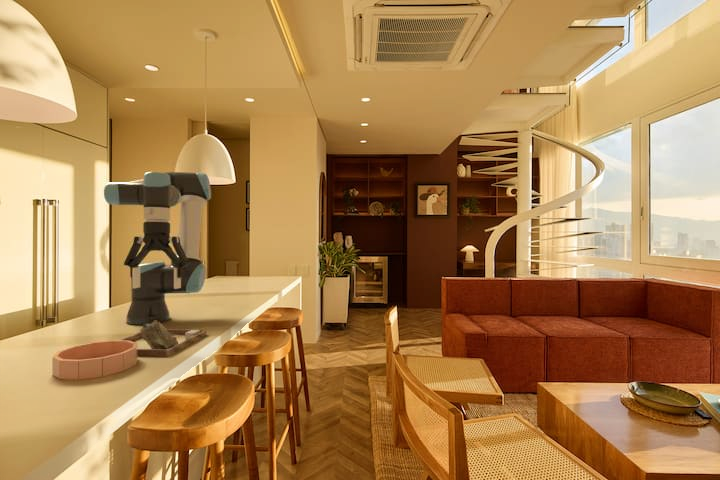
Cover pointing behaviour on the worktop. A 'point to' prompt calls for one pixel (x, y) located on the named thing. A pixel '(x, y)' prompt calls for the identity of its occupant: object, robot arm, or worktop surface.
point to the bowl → (94, 359)
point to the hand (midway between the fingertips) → (156, 288)
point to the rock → (157, 336)
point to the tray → (171, 350)
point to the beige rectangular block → (191, 333)
